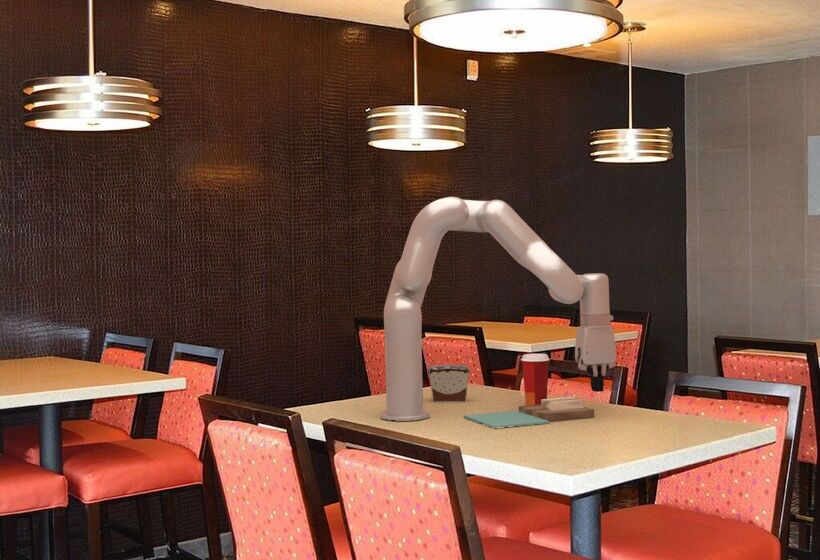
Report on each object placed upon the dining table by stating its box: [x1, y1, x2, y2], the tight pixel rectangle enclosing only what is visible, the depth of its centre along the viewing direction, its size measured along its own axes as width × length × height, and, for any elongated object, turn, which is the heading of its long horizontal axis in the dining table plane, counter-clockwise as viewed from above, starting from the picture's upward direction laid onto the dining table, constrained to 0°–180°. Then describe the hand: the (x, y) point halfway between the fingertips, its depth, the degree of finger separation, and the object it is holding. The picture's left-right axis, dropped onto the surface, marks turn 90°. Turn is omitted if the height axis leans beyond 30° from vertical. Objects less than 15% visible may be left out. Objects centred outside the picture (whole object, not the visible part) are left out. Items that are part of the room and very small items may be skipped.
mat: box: [463, 410, 551, 428], centre depth 261 cm, size 18×15×1 cm
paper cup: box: [520, 353, 550, 406], centre depth 282 cm, size 8×8×14 cm
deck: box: [518, 404, 595, 423], centre depth 267 cm, size 14×14×2 cm
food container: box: [426, 364, 471, 403], centre depth 296 cm, size 12×6×10 cm, turn 82°
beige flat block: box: [541, 396, 585, 411], centre depth 267 cm, size 6×9×2 cm, turn 112°
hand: (597, 390), depth 271 cm, fingers closed
